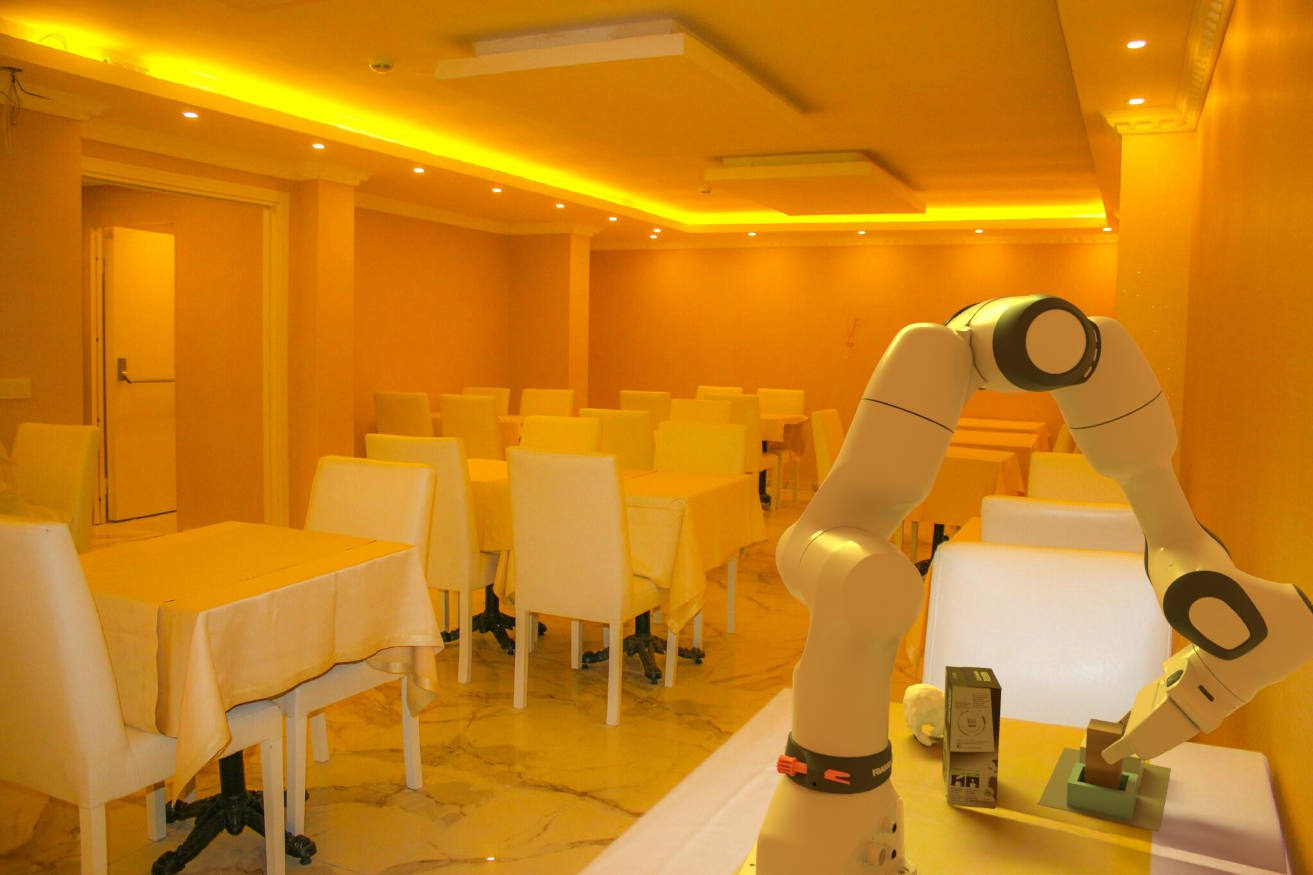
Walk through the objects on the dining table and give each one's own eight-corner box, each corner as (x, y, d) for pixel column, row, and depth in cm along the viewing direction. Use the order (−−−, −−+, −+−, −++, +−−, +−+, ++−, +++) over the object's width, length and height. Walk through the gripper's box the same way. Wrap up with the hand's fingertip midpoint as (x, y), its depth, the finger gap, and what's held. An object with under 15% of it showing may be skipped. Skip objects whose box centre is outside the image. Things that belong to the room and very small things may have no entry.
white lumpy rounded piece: (901, 677, 153) (976, 684, 153) (894, 730, 153) (969, 736, 154) (914, 690, 147) (992, 697, 147) (907, 745, 147) (984, 752, 148)
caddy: (1158, 839, 119) (1160, 799, 119) (1037, 811, 127) (1039, 773, 126) (1170, 775, 138) (1172, 740, 138) (1064, 753, 145) (1065, 721, 145)
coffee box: (998, 809, 127) (1003, 688, 126) (946, 804, 128) (950, 684, 127) (988, 780, 136) (993, 666, 135) (940, 776, 137) (944, 663, 136)
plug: (1117, 810, 125) (1121, 734, 124) (1083, 802, 127) (1086, 727, 126) (1120, 798, 128) (1124, 724, 127) (1087, 791, 130) (1091, 718, 129)
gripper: (1184, 643, 131) (1101, 701, 137) (1175, 687, 113) (1081, 751, 119) (1221, 682, 129) (1135, 739, 135) (1218, 732, 111) (1119, 795, 117)
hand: (1109, 745), depth 127 cm, fingers open, 8 cm apart
